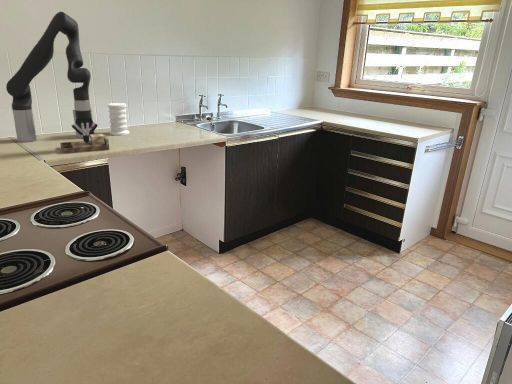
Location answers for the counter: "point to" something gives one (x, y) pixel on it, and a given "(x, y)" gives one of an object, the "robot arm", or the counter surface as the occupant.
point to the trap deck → (84, 146)
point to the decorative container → (118, 119)
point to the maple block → (97, 139)
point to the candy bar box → (80, 128)
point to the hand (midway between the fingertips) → (86, 142)
